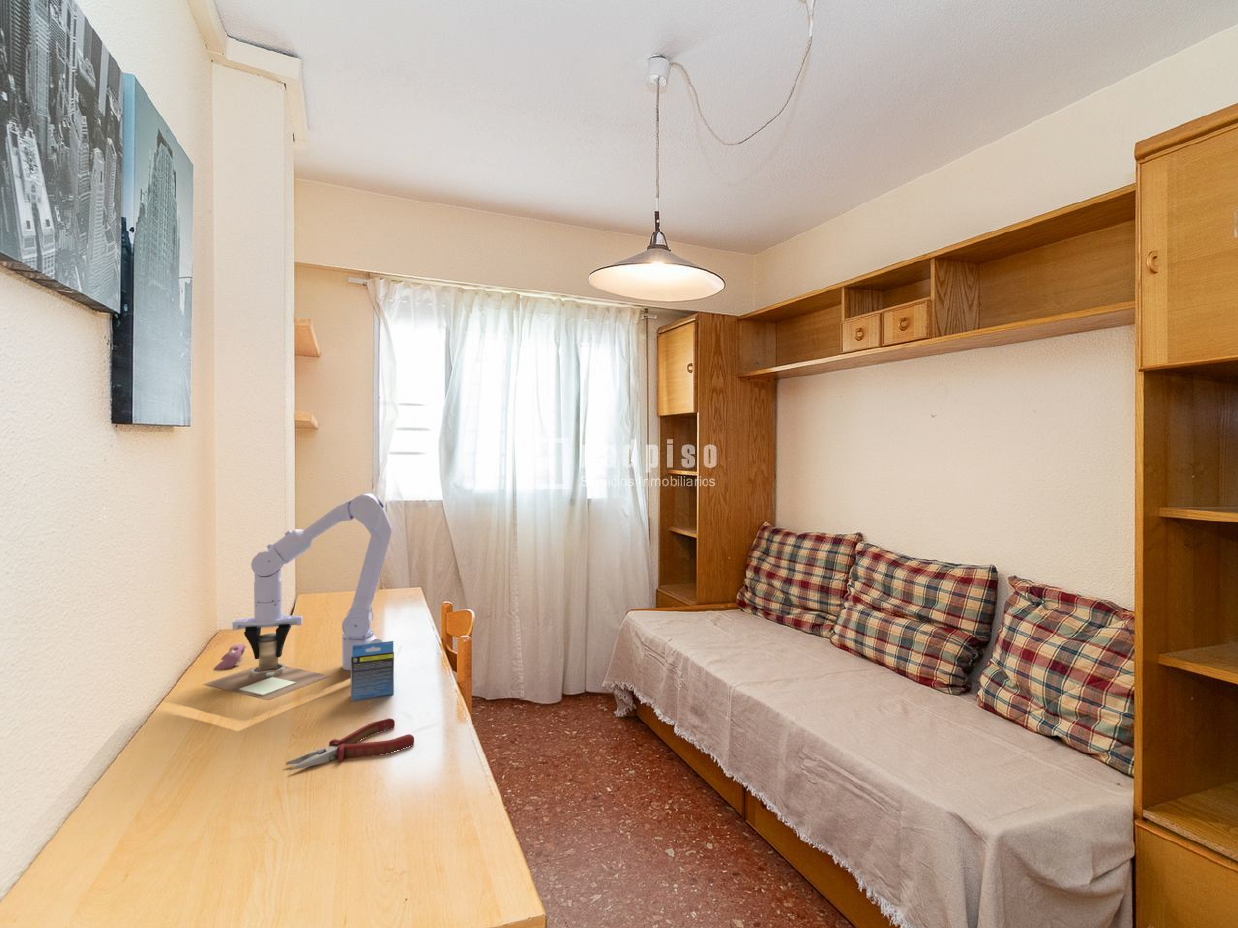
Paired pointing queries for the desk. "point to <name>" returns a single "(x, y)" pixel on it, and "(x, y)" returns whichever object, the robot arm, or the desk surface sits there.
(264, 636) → the beech pin
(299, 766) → the pliers
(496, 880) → the desk surface
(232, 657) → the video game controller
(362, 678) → the label tape box
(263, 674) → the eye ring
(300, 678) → the walnut board
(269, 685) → the sage pad
